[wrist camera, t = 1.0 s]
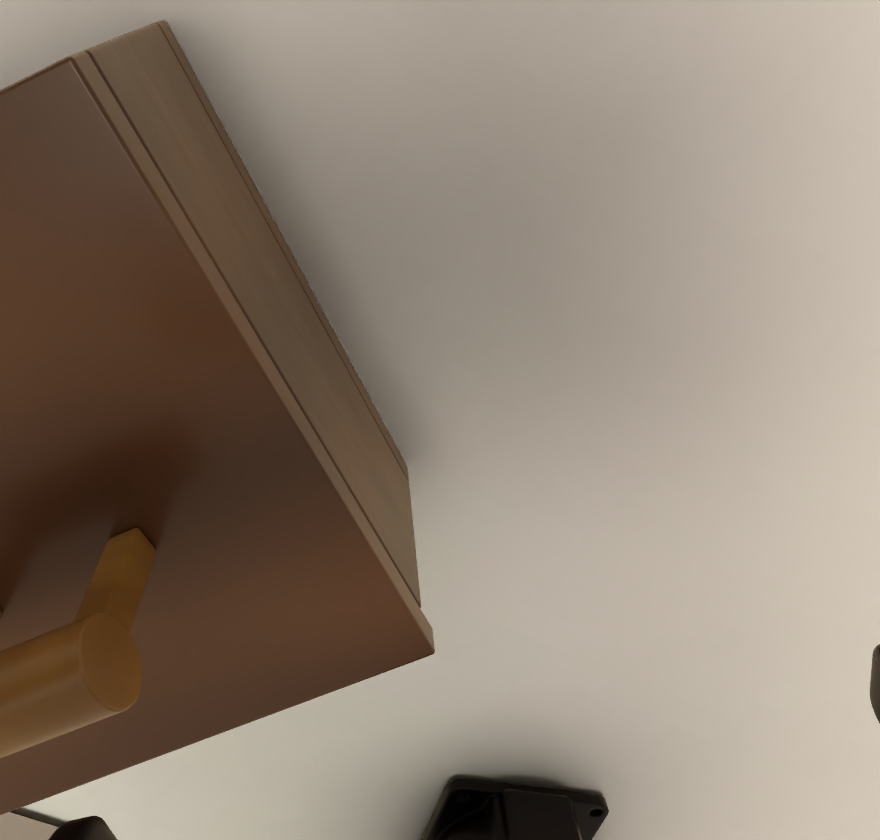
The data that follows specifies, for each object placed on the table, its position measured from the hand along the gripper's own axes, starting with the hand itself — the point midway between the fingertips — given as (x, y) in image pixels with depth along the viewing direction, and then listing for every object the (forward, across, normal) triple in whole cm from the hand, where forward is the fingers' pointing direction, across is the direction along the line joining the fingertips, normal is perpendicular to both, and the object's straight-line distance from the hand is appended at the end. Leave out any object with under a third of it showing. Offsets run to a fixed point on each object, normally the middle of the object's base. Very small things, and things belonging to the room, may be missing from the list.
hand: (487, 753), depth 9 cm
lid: (+8, +8, 0) cm, 11 cm away
